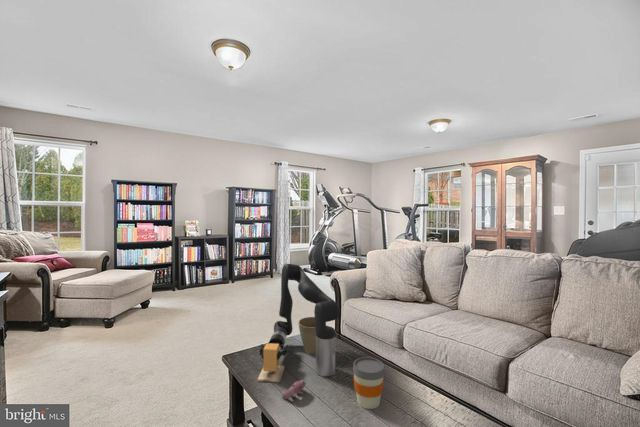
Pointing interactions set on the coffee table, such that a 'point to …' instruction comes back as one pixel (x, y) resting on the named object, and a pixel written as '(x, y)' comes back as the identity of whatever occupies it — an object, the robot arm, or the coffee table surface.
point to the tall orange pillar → (271, 357)
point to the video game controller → (294, 389)
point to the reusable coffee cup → (368, 381)
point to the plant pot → (308, 334)
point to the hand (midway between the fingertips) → (270, 357)
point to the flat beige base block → (271, 375)
